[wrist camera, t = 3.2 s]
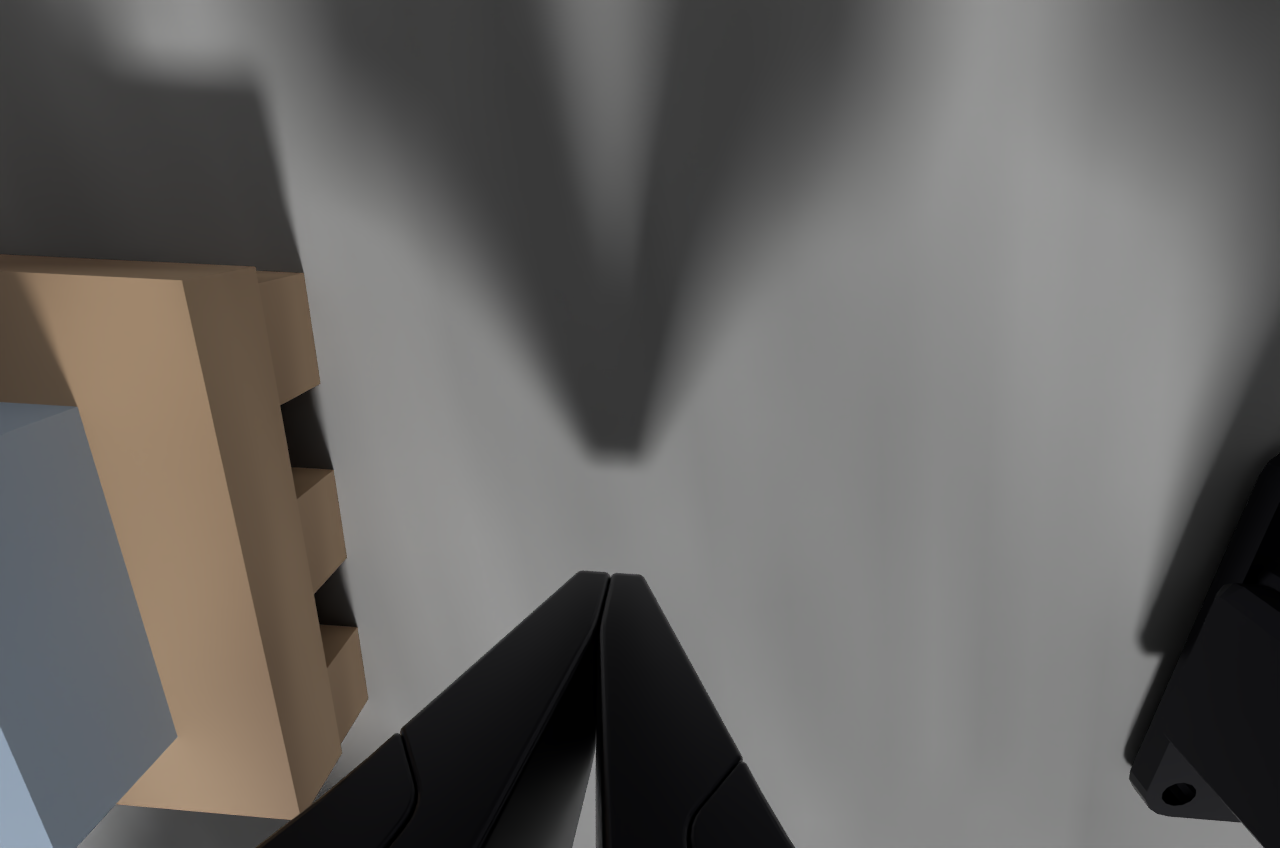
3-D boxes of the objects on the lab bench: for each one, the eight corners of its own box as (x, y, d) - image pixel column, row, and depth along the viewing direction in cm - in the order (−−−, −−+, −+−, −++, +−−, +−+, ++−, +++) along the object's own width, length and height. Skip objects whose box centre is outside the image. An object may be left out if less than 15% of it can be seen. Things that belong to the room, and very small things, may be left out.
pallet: (310, 257, 9) (182, 280, 6) (375, 698, 12) (301, 820, 9) (-223, 231, 9) (-519, 245, 7) (-33, 665, 12) (-198, 776, 10)
